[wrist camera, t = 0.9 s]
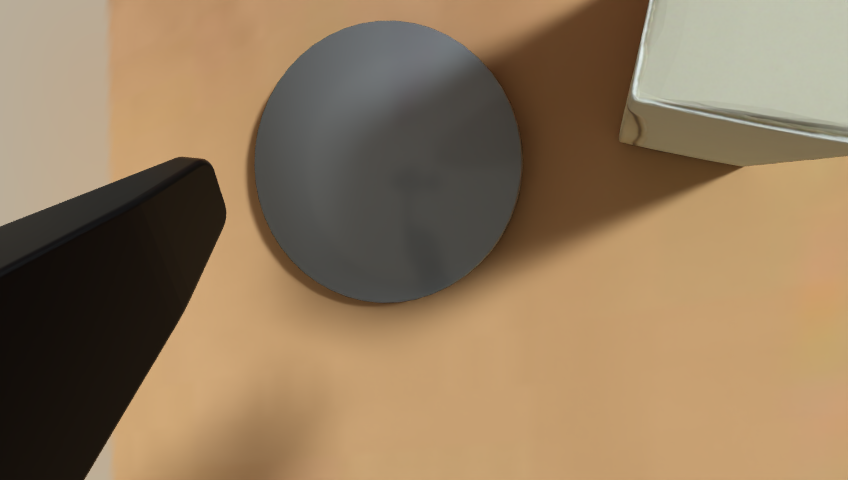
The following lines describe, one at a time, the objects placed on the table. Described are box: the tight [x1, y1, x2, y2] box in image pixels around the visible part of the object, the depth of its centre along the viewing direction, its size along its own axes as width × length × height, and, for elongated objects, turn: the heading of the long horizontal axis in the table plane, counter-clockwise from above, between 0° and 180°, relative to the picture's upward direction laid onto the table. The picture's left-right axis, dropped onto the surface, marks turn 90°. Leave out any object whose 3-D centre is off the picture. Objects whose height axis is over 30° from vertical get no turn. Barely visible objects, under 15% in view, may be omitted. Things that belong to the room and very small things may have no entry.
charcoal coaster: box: [255, 21, 523, 303], centre depth 24 cm, size 10×10×1 cm
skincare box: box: [619, 0, 848, 166], centre depth 16 cm, size 6×4×12 cm
